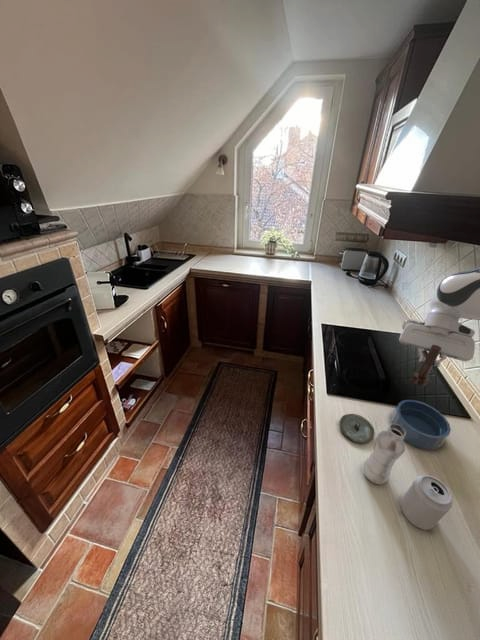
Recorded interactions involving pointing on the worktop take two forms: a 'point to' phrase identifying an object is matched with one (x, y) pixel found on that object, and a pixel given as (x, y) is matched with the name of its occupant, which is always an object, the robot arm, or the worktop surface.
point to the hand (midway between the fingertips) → (428, 364)
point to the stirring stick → (426, 367)
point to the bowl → (421, 424)
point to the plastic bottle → (385, 454)
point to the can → (426, 502)
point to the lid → (356, 428)
